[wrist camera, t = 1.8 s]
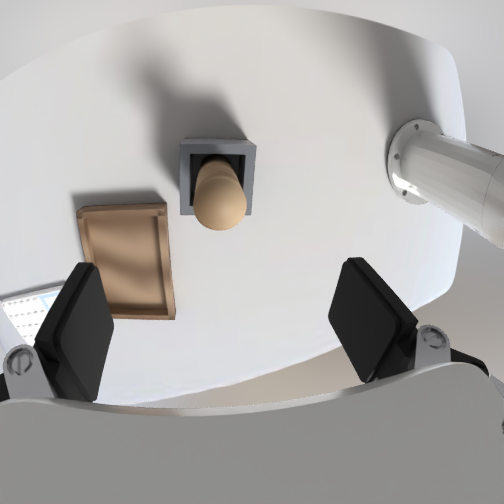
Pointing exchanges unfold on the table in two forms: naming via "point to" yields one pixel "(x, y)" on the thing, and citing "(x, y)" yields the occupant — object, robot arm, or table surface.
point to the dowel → (218, 194)
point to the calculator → (30, 310)
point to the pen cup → (198, 149)
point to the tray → (131, 258)
